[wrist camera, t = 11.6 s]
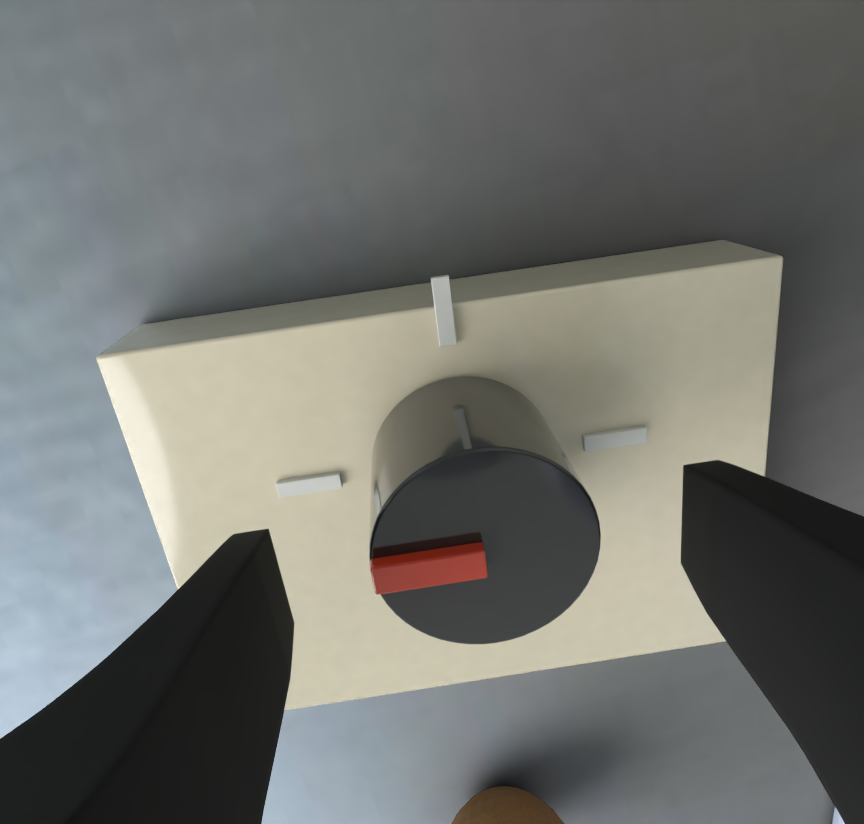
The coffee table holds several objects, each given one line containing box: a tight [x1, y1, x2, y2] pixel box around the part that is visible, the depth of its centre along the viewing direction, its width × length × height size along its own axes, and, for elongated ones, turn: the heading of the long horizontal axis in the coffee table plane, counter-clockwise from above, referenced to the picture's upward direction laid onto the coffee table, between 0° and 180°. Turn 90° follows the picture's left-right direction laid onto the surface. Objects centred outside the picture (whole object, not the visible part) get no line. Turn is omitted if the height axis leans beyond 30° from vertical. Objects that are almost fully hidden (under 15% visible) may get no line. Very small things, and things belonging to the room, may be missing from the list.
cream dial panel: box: [97, 240, 783, 711], centre depth 16 cm, size 14×11×3 cm
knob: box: [369, 376, 601, 644], centre depth 12 cm, size 4×4×4 cm
